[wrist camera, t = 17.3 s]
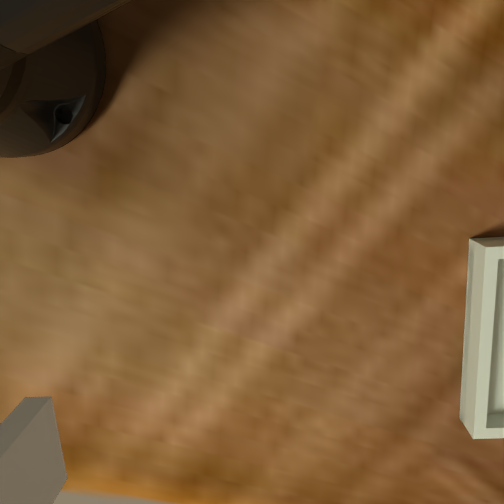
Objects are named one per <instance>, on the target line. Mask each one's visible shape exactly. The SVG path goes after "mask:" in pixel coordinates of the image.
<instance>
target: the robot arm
mask: <svg viewBox="0 0 504 504" xmlns="http://www.w3.org/2000/svg"><path fill="white" fill-rule="evenodd" d="M130 1H132V0H0V157H7V158H14V157H27V156H35V155H41V154H44V153H48V152H51V151H53V150H56V149H58V148H60V147H62V146H63V145H65V144H67V143H68V142H70V141H71V140H72V139H73V138H75V137H76V136H77V135H78V134H79V133H80V132H81V131H82V130H83V129H84V128H85V126H86V125H87V124H88V122H89V121H90V119H91V118H92V116H93V114H94V112H95V111H96V108H97V106H98V104H99V101H100V98H101V95H102V91H103V87H104V81H105V69H106V62H105V50H104V44H103V39H102V35H101V32H100V29H99V26H98V23H97V20H96V19H98V18H100V17H102V16H104V15H106V14H107V13H109V12H111V11H113V10H115V9H117V8H119V7H120V6H122V5H124V4H126V3H128V2H130ZM66 480H67V474H66V468H65V463H64V458H63V453H62V448H61V443H60V438H59V432H58V427H57V422H56V417H55V412H54V407H53V402H52V397H25V398H24V399H23V401H22V402H21V403H20V404H19V405H18V406H17V407H16V408H15V409H14V410H13V411H12V412H11V413H10V415H9V416H8V417H7V418H6V419H5V420H4V421H3V422H2V423H1V424H0V504H53V502H54V500H55V499H56V497H57V495H58V494H59V492H60V490H61V489H62V487H63V485H64V483H65V482H66Z"/></svg>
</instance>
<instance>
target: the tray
mask: <svg viewBox="0 0 504 504" xmlns="http://www.w3.org/2000/svg"><path fill="white" fill-rule="evenodd" d="M459 418H460V419H461V421H462V422H463V424H464V426H465V427H466V429H467V430H468V432H469V433H470V435H471V436H472V438H473V439H487V438H504V237H489V238H470V239H469V255H468V273H467V291H466V309H465V327H464V345H463V363H462V381H461V399H460V417H459Z"/></svg>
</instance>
